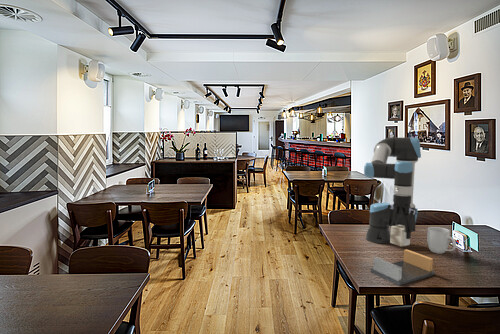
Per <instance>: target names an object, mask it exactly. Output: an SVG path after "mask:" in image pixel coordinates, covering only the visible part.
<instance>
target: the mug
mask: <svg viewBox="0 0 500 334" xmlns="http://www.w3.org/2000/svg"><path fill="white" fill-rule="evenodd" d="M450 240H451V241H452V243H453V247H452V248H451V249H448V247H449V243H450ZM426 242H427V247H428V249H429V250H430V252H431V253H434V254H439V255H442V254H445V253H446V252H453V251H454V250H455V249H456V247H457V243H456V239H454V237H452V236H451V230H449V229H448V228H444V227H439V226H429V227H427V233H426Z"/></svg>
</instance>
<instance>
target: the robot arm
mask: <svg viewBox="0 0 500 334" xmlns="http://www.w3.org/2000/svg"><path fill="white" fill-rule="evenodd" d="M420 143H421V141H420V139H419V138H417V137H409V136H408V137H391V136H390V137H387V138H384V139H382V140H379V142H378V143H376V144H375V146H374V147H373V156H372V159H371V160H370V162H365V164H364V168H363V175H364V176H365V178H370V179H389V180H390V179H391V180H394V181H393V198H392V202H393V204H390V202H375V203H372V204H370V206H369V226H368V229H367V232H366V234H365V239H366V240H367V241H369V242H372V243H376V244H391V243H390V234H391V226H395V225H402V226H405V229H406V231H405V232H404V246H403V247H406V246H410V245H409V239H410V240H411V238H412V237H411V236H412V232H416V223H417V219H418V218H417V217H418V212H419V210H418V208H417V207H416V205H415V203H413V201H414V200H413V199H414V186H415V184H414V183H415V182H414V181H415V171H416V170H415V165H416V163H418V161H419V159H421V158H422V153H421V144H420ZM389 157H392V158H396V159H395V160H396V161H395V162H394V163H388V159H389Z"/></svg>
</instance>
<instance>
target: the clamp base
mask: <svg viewBox="0 0 500 334" xmlns="http://www.w3.org/2000/svg"><path fill="white" fill-rule="evenodd" d="M372 264H373V265H372V268H370V273H371V274H374V275H376V276H379V277H380V278H382V279H384V280H387V282H388V281H389V283H390V282H391V283H393V284H395V285H397V286H399V287H401V286H403V285H407V284H409V283H413V282H416V281H419V280H423V279H425V278H426V279H427V278H428V277H431V276H434V275H435V274H436V271H434V270H432V271H430V272H429V271H427V270H424V269H422V268H419V267H417V266H414V265H412V264H409V263H407V262H404V259H403V260H400V261H396V262H392V263H391V262H389V261H387V260H385V259H383V258H381V257H378V256H375V257H373V262H372Z"/></svg>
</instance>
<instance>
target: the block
mask: <svg viewBox="0 0 500 334" xmlns="http://www.w3.org/2000/svg"><path fill="white" fill-rule="evenodd" d="M390 229H391V233H390V243H389V244H392V245H396V246H398V247H405V246H404V232H405V231H406V229H405V226H402V225H395V226H391V227H390ZM410 244H411V238H410V239H409V245H408V246H410Z"/></svg>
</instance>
